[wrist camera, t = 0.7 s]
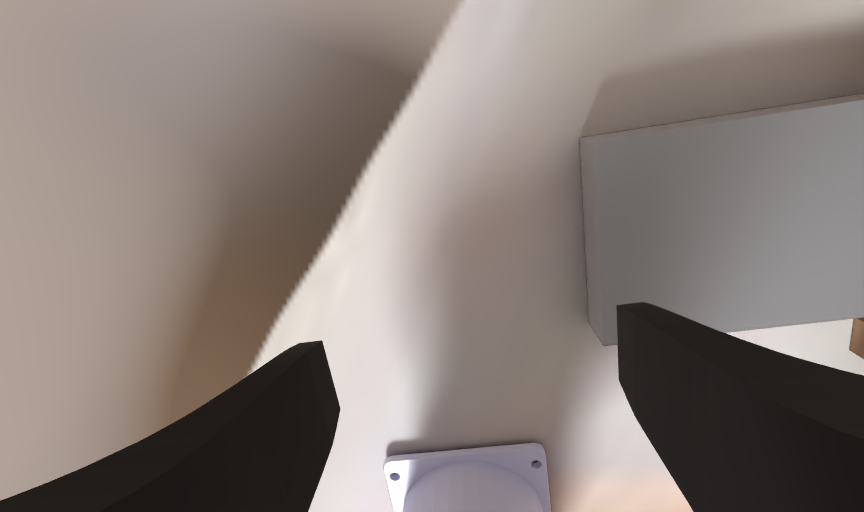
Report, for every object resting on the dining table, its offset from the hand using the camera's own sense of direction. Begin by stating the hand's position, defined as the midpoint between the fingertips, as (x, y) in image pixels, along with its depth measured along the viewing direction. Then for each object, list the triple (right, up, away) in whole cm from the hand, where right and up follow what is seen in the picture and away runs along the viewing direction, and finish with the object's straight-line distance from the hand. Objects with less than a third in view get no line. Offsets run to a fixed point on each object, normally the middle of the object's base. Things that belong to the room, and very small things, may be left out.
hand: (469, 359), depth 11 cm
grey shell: (+10, +4, +7) cm, 13 cm away
